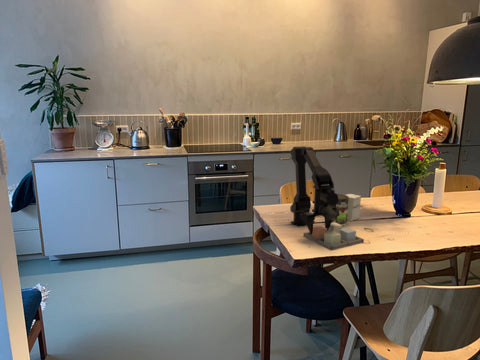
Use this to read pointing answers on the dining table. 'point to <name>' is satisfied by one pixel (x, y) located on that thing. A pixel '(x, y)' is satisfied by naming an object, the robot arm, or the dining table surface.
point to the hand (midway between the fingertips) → (319, 232)
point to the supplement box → (353, 207)
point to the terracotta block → (319, 232)
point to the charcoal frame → (336, 237)
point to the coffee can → (341, 209)
